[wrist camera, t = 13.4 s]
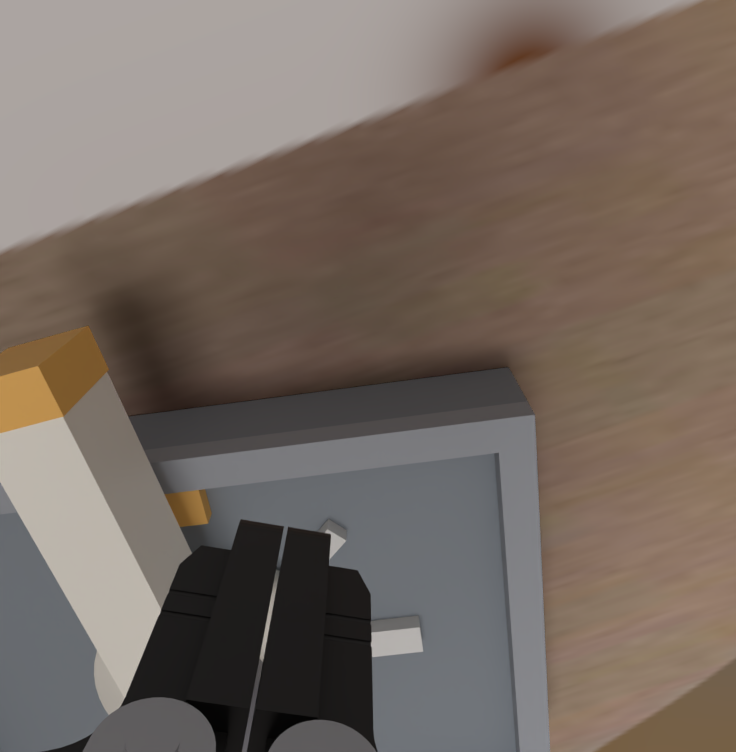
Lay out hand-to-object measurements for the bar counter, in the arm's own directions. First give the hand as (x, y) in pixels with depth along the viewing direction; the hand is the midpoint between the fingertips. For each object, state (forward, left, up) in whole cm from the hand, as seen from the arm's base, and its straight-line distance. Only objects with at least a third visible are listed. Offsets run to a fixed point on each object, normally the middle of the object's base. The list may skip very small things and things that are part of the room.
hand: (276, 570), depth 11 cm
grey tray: (-12, +5, -14) cm, 19 cm away
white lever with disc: (-7, +6, -10) cm, 14 cm away
